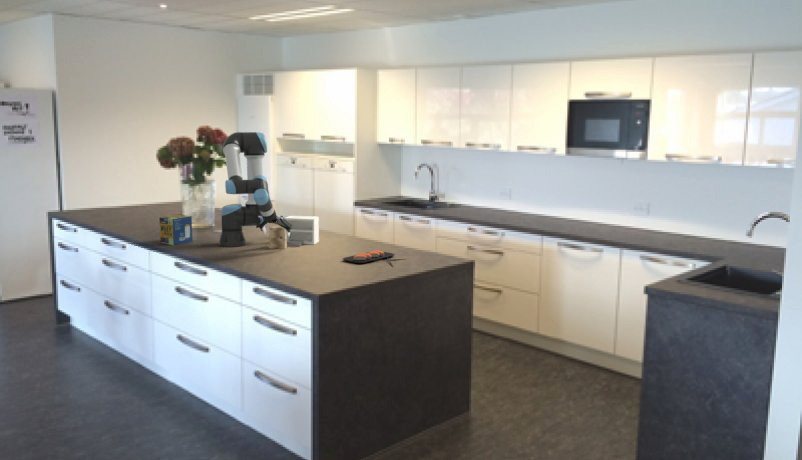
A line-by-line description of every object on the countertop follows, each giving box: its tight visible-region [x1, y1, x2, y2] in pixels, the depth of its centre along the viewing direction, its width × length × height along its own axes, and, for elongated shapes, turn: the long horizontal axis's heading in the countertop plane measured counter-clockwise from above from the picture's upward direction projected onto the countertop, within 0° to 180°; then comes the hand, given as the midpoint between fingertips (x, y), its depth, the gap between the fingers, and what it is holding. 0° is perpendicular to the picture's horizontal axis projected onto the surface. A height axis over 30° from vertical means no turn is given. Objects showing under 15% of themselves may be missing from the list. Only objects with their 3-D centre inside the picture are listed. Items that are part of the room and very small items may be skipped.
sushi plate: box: [342, 250, 406, 268], centre depth 353 cm, size 29×30×4 cm
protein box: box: [159, 214, 193, 246], centre depth 395 cm, size 10×15×16 cm
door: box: [268, 226, 288, 250], centre depth 382 cm, size 9×4×12 cm, turn 81°
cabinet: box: [284, 215, 320, 247], centre depth 397 cm, size 18×18×15 cm
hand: (277, 234), depth 380 cm, fingers open, 13 cm apart
